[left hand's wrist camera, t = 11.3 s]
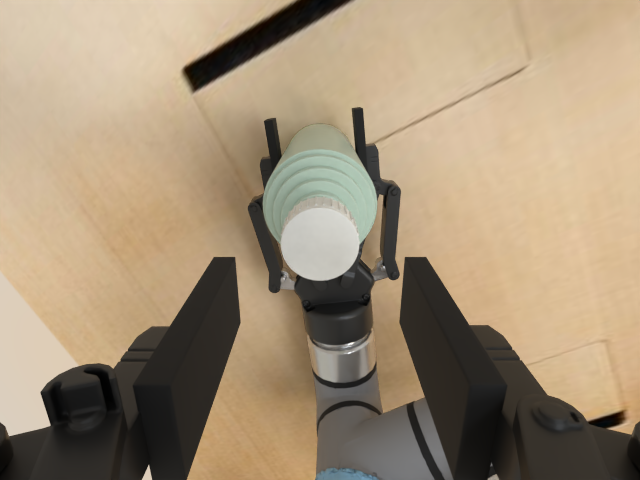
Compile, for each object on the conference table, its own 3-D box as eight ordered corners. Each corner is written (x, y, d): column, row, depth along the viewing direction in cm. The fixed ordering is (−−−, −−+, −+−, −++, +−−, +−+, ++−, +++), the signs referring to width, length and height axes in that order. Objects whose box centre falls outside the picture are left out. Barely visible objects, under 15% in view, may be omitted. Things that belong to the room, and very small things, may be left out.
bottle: (358, 183, 44) (404, 293, 20) (295, 196, 45) (266, 319, 21) (346, 116, 42) (382, 152, 18) (279, 131, 42) (226, 186, 18)
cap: (362, 257, 21) (366, 273, 19) (292, 271, 21) (289, 288, 19) (349, 188, 20) (352, 198, 18) (275, 204, 20) (270, 215, 18)
